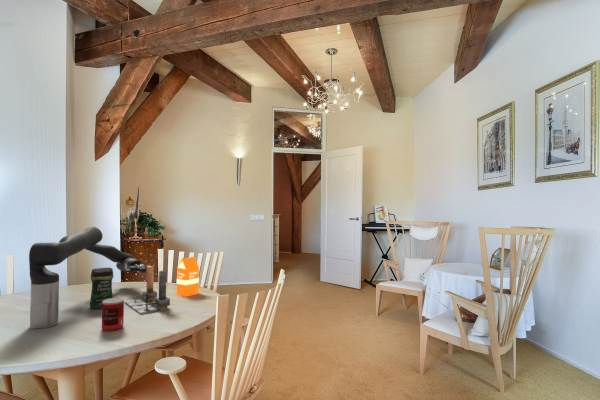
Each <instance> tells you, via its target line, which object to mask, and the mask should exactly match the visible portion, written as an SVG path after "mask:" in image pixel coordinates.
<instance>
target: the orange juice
mask: <svg viewBox="0 0 600 400" xmlns="http://www.w3.org/2000/svg"><path fill="white" fill-rule="evenodd" d="M176 270H177V271H176V295H177V296H181V297H188V296H192V295H193V296H194V295H197V294H199V293H200V291H199V290H200V289H199V288H200V283H199V282H200V267H199V264H198V263H197V260H196V257H195V256H191V257H184V258H181V259H180V261H179V263H178V266H177V268H176Z"/></svg>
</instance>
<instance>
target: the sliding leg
mask: <svg viewBox="0 0 600 400" xmlns="http://www.w3.org/2000/svg"><path fill="white" fill-rule="evenodd" d="M146 266H147V265H146ZM154 268H155V267H154V266H153V265H150V266H147V271H146V291H142V294H139V295H134V296H133V300H134V302H136V299H137V298H140V297H142V299H143V298H144V299H145V300H148V298H149V297H155V298H158V292H157V291H156V290H154V275H155V274H154Z"/></svg>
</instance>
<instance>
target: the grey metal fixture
mask: <svg viewBox="0 0 600 400" xmlns="http://www.w3.org/2000/svg"><path fill="white" fill-rule="evenodd" d="M144 300H145V299H144V298H143V297H142V300H141V299H140V298H136V302H134V299H130V300H124V305H126V306H128V307H130V308H131V309H132V310H133V311H135V312H136V313H137V314H139V315H146V314H150V313H151V314H152V313H156V312H157V310H159V311H166V310H168V307H169V306H170V305H171V298H169V297H168V296H167V270H159V271H158V297H157V298H155V297H149V298H148V300H145V302H144ZM157 308H158V309H157Z"/></svg>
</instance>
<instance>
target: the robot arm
mask: <svg viewBox="0 0 600 400" xmlns="http://www.w3.org/2000/svg"><path fill="white" fill-rule="evenodd" d="M102 239H103V233H102V230H101V229H99V228H98V227H96V226H90V227H87V228H85V229H84V230H81V231H78V232H74V233H71V234H68V235H65V236H63V237H62V238H60V240H59V242H36V243H33V244H32V245H31V246H30V249H29V251H28V252H29V254H28V263H29V264H28V265H29V279H30V305H29V306H30V307H29V308H30V309H29V312H30V313H29V329H30V330H34V329H47V328H49V327H53V326H55V325H58V323H59V308H60V307H59V306H60V304H59V299H60V275H59V273H57V272H53V271H51V270H49V269H47V267H46V266H57V265H60V264H61V263H63V262H64V261H65V260H66V259H68V258H69V257H71V256H73V255H76V254H78V253H80V252H82V251H83V250H87V251H89V252H92V253H94V254H97V255H101V256H102V257H104V258H106V259H108V260H109V261H111V262H113V263H116V264H115V267H116V269H118V270H119V271H122V272H127V273H131V274H134V275H135V274H139V273H147V266H151V264H150V263H149V264H147V265H146V264H144V263H143V261H141V260H139V259H136V258H135V257H134V255H133V254H132V253H128V252H124V251H121V249H118V248H117V247H115V246H112V245H106V244H99V243H100V242H101V241H102Z"/></svg>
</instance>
